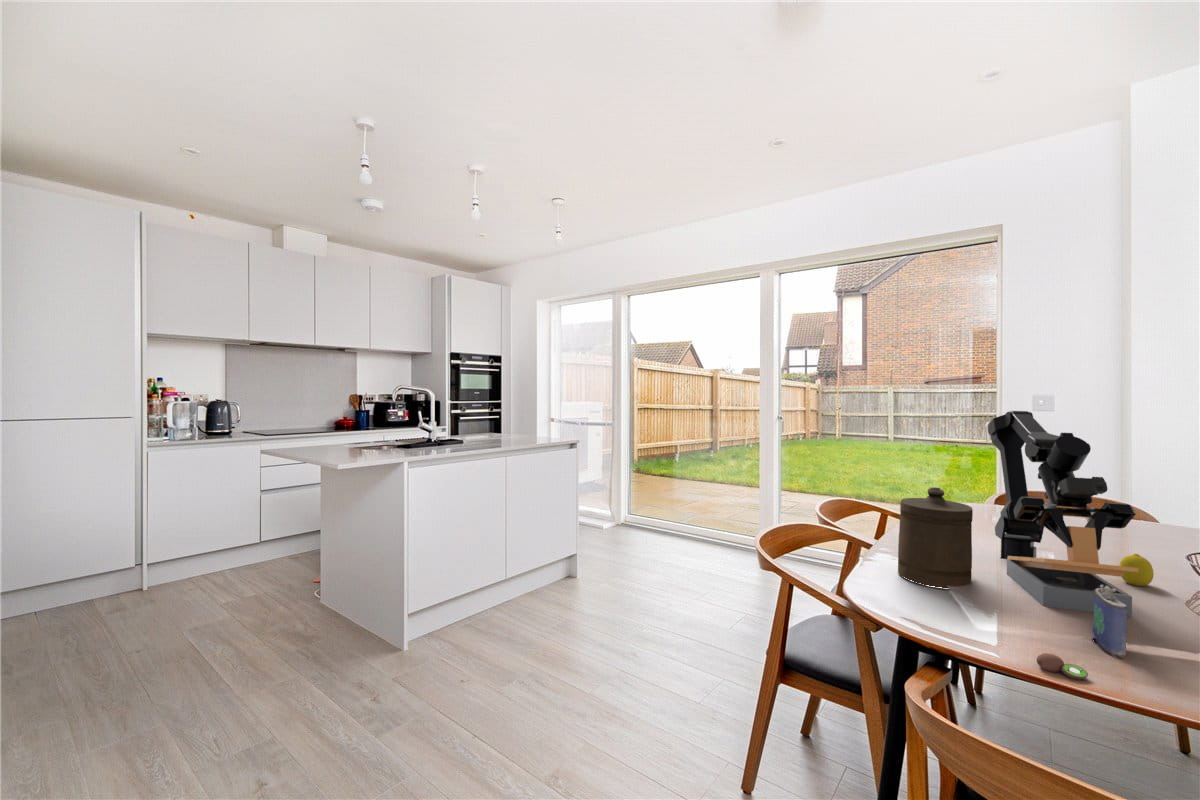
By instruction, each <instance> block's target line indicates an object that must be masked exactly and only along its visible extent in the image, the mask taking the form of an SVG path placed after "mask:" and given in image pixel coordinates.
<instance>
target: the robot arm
mask: <svg viewBox="0 0 1200 800" xmlns="http://www.w3.org/2000/svg"><path fill="white" fill-rule="evenodd" d="M987 432H988V435H989V436H990V440H991V443H992V444H993V445H994V446H995V447H996V448H997V450H999V452H1000V453H999V454H1000V460H1001V467H1002V477H1003V483H1004V484H1003V485H1004V491H1005V498H1006V499H1005V501H1006V503H1005V505H1004V506H1003V508H1002V509H1001V511H1000V516H999V518H998V520H997V522H996V524H995V526H994V531H995V532H994V533H995V536H996V537H997V538H999V539H1000V557H999V559H1002V560H1007V558H1008V556H1017V557H1032V558H1037V547H1036V546H1035V543H1036V544H1037V543H1039V544H1041V543H1042V538H1043V535H1044V528H1046V529H1047V530H1048V531H1050V532H1051V533H1053V535H1055V537H1057V538H1058V539H1059V540H1060V541H1061V542H1062V543H1064V544H1065V546H1066V545H1067V546H1068V547H1070V548H1072V546H1073V542H1072V539H1071V536H1070V534H1069V532H1068V529H1067V527H1066V526H1067V525H1066V522H1065V520H1064V517H1069V518H1070V517H1073V518H1085V519H1086V524H1085V525H1084V527H1087V528H1095V531H1096V540H1097V549H1098V551H1099V550H1100V549H1101V548H1102V537H1103V530H1104V529H1105V528H1108V529H1109V528H1110V529H1124V528H1126V527H1127V525H1128V524H1129V523H1130V522H1131V521H1132V520H1133V518H1134V517H1135V515H1136V512H1135V510H1134V508H1133V506H1131V504H1129V503H1122V502H1109V501H1108V502H1107V501H1105V502H1104V503H1103V505H1102V506H1101V507H1100V508H1098V507H1097V508H1095V507H1091V506H1090V507H1089V506H1088V504H1089V505H1091V504H1092V502H1093V499H1092V497H1093V496H1098V495H1103V494H1104V493H1106V492H1107V491H1108V490H1109V489H1108V484H1107V482H1106V479H1104V477H1103V476H1092V477H1087V478H1086V477H1076V476H1075V473H1074V472H1077V471H1079V470H1080V468H1081V466H1082V465H1083V464H1084V462H1085V460H1086V459H1087V457H1088V455H1089V453H1090V452H1091V450H1092V449H1091V445H1090V443H1088V442H1087V441H1085V440H1084V439H1082V438H1080V437H1077V436H1075V435H1074V433H1073V432H1060V434H1059V435H1055V434H1053V433H1049V432H1048V431H1047V430H1045V428H1044V427H1043V426H1042V425H1041V424H1040V423H1039V422H1038V421H1037V420H1036V419H1035V418H1034V415H1033V413H1032V412H1031V411H1027V410H1009V411H1007V412H1005V414H1003V415H1002V414H1001V415H999V416H997V417H993V418H992V419H991V421H990V422H989V423H988V426H987ZM1024 444H1025V445H1024ZM1023 447H1024V454H1025V456H1026V457H1027V459H1028V460H1029V461H1030V462H1032V463H1041V464H1040V465H1039V466H1038V469H1037V470H1038V474H1037V479H1039V480H1041V481H1042V484H1043V487H1044V491H1045V493H1044V495H1043V496H1044V498H1045V499H1047V500H1048V501H1049V502H1046V501H1045V500H1044V498H1042V497H1035V496H1034V497H1033V496H1029V494H1028V485H1027V477H1026V472H1025V465H1024V458H1023V451H1022V448H1023ZM1067 546H1066V547H1067Z"/></svg>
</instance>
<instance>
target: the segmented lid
mask: <svg viewBox="0 0 1200 800" xmlns="http://www.w3.org/2000/svg"><path fill="white" fill-rule="evenodd" d="M1066 527H1067V529H1068V532H1069V534H1070V536H1071V539H1072V542H1073V546H1072V548H1070V547H1068V546H1067V545H1066V544H1065V546H1066V554H1067V560H1065V559H1064V560H1063V559H1056V558H1055V559H1053V558H1044V557H1036V558H1032V557H1017V556H1008V559H1010V560H1019V564H1020V565H1022V566H1027V567H1036V568H1045V569H1054V570H1063V571H1072V572H1082V573H1091V574H1096V575H1103V576H1109V577H1120V578H1122V577H1123V571H1131V572H1139V571H1138V568H1134V567H1124V566H1119V565H1113V564H1103V563H1100V561H1099V550H1098V549H1097V540H1096V531H1095V528H1087V527H1085V526H1073V525H1068V526H1067V525H1066Z"/></svg>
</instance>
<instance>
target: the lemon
mask: <svg viewBox="0 0 1200 800" xmlns="http://www.w3.org/2000/svg"><path fill="white" fill-rule="evenodd" d="M1118 566H1124V567H1134V568H1138V571H1139V572H1131V571H1123V577H1121V579H1123V581H1124V582H1125V583H1127V584H1129V585H1131V586H1136V587H1146V586H1148V585H1150V584H1151V583H1152V581H1153V579H1154V573H1155V572H1154V568H1153V566H1152V564H1151V562H1150V561H1149V560H1148V559H1147V558H1145V557H1143V556H1141V554H1138V553H1133V554H1129V555H1126V556H1123V558H1122V559H1121V560H1120V562H1119V564H1118Z"/></svg>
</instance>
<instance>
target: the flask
mask: <svg viewBox="0 0 1200 800" xmlns="http://www.w3.org/2000/svg"><path fill="white" fill-rule="evenodd" d="M1103 586H1104V585H1100V588H1097V589H1095V590H1094V612H1093V616H1092V617H1093V619H1092V621H1093V623H1092V634H1093V636H1094V637H1092V638H1093V640H1094V641H1093V640H1092V641H1093V642H1094V644H1096V645H1097V647H1099V649H1101V650H1102V651H1103V652H1104V653H1106V654H1108V655H1109V656H1110V657H1115V658H1117V659H1119V658H1120V659H1124V660H1125V658H1126V657H1127V623H1128V622H1127V621H1128V617H1127V606H1126V605H1125V604H1123V603H1122V602H1120V601H1119V600H1118V599H1116V598H1115V597H1114V595H1115V594H1114V593H1113V592H1115V591H1116V588H1114V589H1111V588H1110V587H1109V586H1105V587H1104V588H1102V587H1103ZM1101 588H1102V589H1101Z"/></svg>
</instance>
